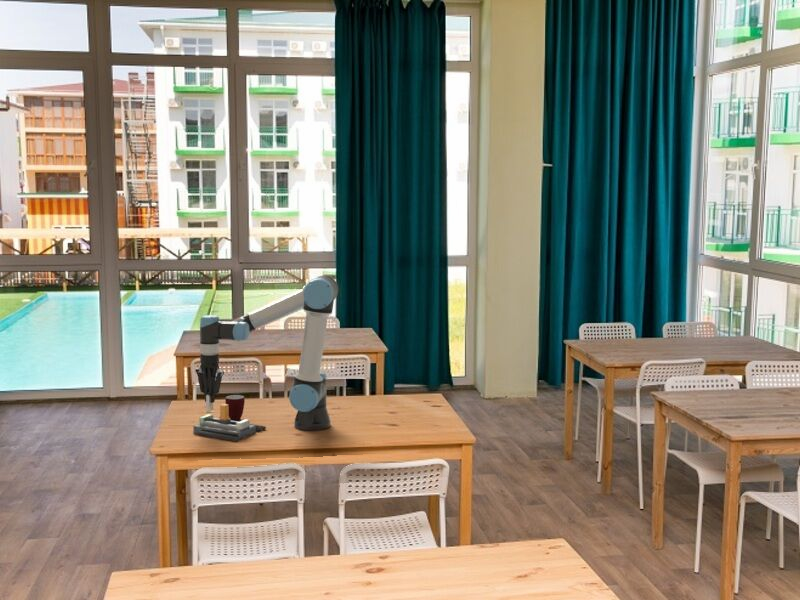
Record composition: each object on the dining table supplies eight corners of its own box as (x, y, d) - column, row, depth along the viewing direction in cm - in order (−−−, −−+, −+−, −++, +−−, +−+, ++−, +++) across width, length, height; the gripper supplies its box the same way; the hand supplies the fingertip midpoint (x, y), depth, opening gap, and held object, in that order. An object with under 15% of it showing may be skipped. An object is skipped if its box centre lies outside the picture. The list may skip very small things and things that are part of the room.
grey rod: (262, 431, 361) (262, 426, 361) (260, 432, 359) (260, 427, 359) (215, 423, 371) (215, 419, 371) (212, 424, 369) (212, 420, 369)
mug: (226, 424, 371) (226, 401, 370) (217, 420, 377) (216, 397, 376) (248, 420, 378) (248, 397, 376) (238, 416, 384) (238, 394, 382)
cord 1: (239, 441, 346) (239, 436, 346) (236, 442, 345) (236, 437, 344) (199, 434, 355) (199, 429, 355) (196, 435, 354) (196, 430, 353)
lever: (230, 424, 357) (230, 404, 356) (226, 426, 355) (226, 406, 354) (222, 423, 359) (222, 403, 358) (218, 425, 356) (217, 405, 355)
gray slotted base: (255, 432, 358) (255, 418, 357) (238, 440, 347) (238, 425, 347) (211, 426, 367) (211, 412, 367) (193, 433, 357) (193, 418, 356)
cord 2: (266, 429, 363) (266, 425, 363) (264, 430, 362) (264, 426, 362) (216, 423, 372) (216, 419, 372) (214, 423, 371) (214, 420, 371)
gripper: (228, 353, 357) (228, 410, 360) (202, 350, 362) (202, 406, 365) (217, 356, 350) (217, 414, 353) (190, 353, 356) (191, 410, 359)
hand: (209, 410), depth 359 cm, fingers closed
